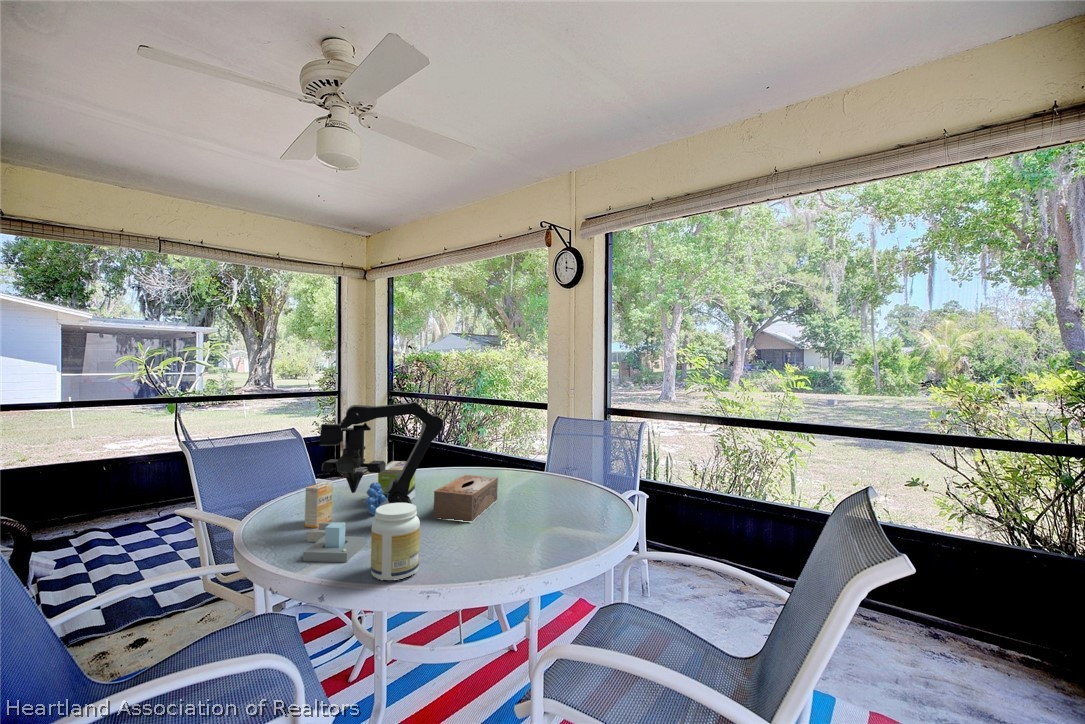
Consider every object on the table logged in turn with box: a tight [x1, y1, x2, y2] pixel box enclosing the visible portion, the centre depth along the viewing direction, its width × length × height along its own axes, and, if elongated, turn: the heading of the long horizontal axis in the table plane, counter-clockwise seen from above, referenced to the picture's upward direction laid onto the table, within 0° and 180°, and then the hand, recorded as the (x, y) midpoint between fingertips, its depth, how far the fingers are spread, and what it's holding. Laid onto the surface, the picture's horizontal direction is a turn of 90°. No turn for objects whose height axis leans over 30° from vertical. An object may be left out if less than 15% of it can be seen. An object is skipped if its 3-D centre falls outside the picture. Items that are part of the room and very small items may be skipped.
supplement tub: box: [370, 503, 421, 581], centre depth 124 cm, size 12×12×17 cm
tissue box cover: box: [433, 474, 499, 521], centre depth 177 cm, size 26×14×10 cm, turn 166°
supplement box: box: [304, 481, 334, 529], centre depth 159 cm, size 8×5×13 cm, turn 168°
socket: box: [302, 535, 365, 563], centre depth 135 cm, size 12×12×3 cm
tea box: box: [377, 460, 416, 506], centre depth 184 cm, size 15×10×15 cm
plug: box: [325, 523, 346, 548], centre depth 135 cm, size 4×4×8 cm
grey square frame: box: [306, 521, 347, 543], centre depth 147 cm, size 8×9×3 cm
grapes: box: [365, 482, 387, 516], centre depth 168 cm, size 12×7×12 cm, turn 178°
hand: (353, 492), depth 152 cm, fingers closed
